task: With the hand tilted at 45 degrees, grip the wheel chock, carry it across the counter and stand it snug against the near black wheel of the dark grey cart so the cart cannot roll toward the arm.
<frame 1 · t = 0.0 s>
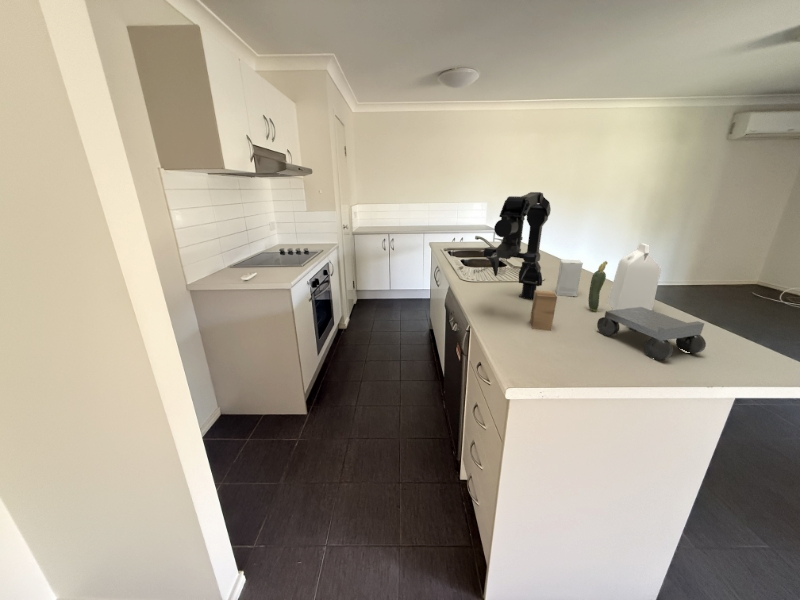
hand: (507, 277, 114), 15 cm above the countertop, tool pointing down, fingers open, 9 cm apart
milk: (627, 309, 126), on the countertop
trolley: (648, 328, 96), point 5 cm above the countertop, slide at 0.0 cm
chock: (540, 326, 110), on the countertop
skincare box: (565, 294, 144), on the countertop
vegetable: (591, 311, 124), on the countertop
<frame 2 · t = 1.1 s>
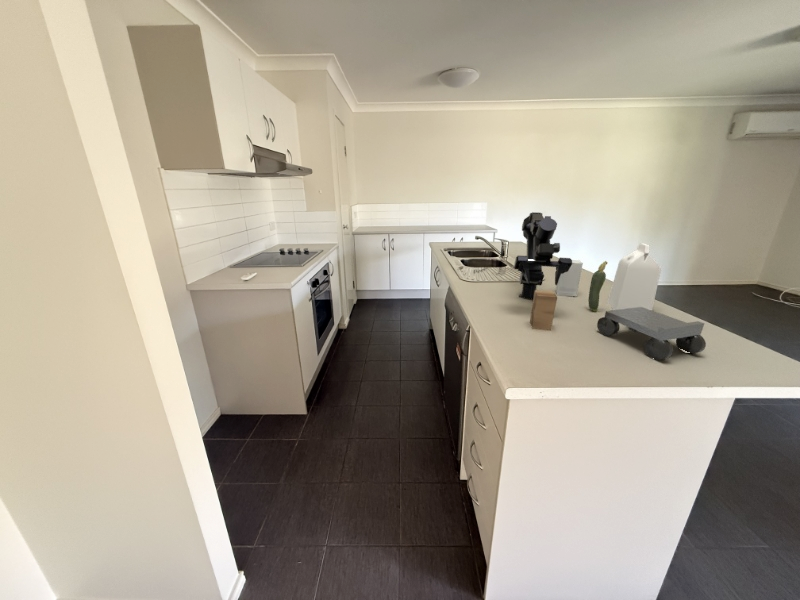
hand: (542, 283, 112), 13 cm above the countertop, tool tilted 45°, fingers open, 9 cm apart
nothing on the countertop moved.
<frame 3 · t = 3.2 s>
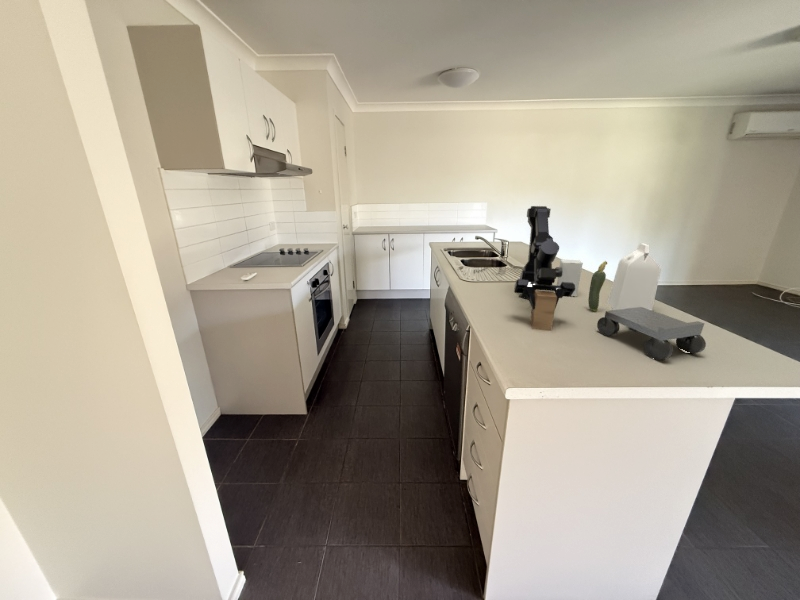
hand: (543, 309, 106), 7 cm above the countertop, tool tilted 45°, fingers closed on chock, 6 cm apart
chock: (540, 326, 110), on the countertop, touching gripper
everything else where it was.
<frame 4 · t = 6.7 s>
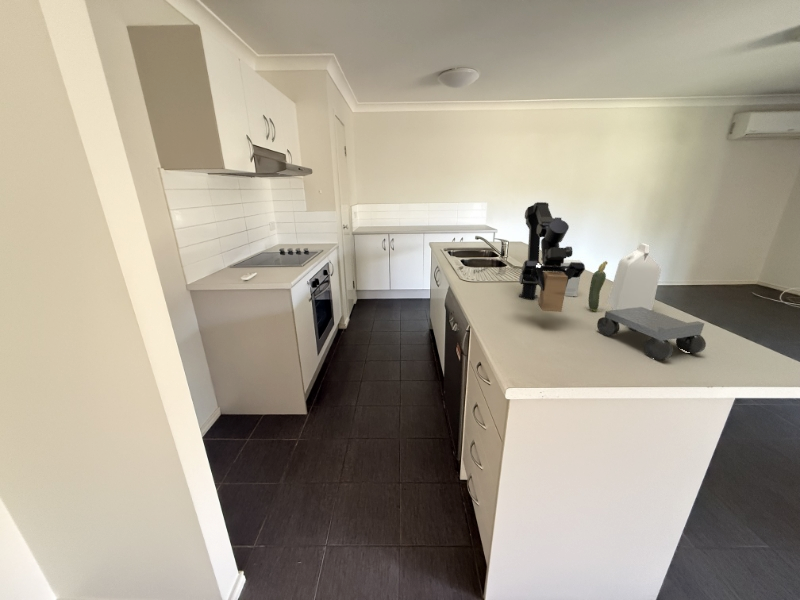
hand: (553, 290, 103), 14 cm above the countertop, tool tilted 45°, fingers closed on chock, 6 cm apart
chock: (549, 308, 107), point 7 cm above the countertop, touching gripper
everything else where it was.
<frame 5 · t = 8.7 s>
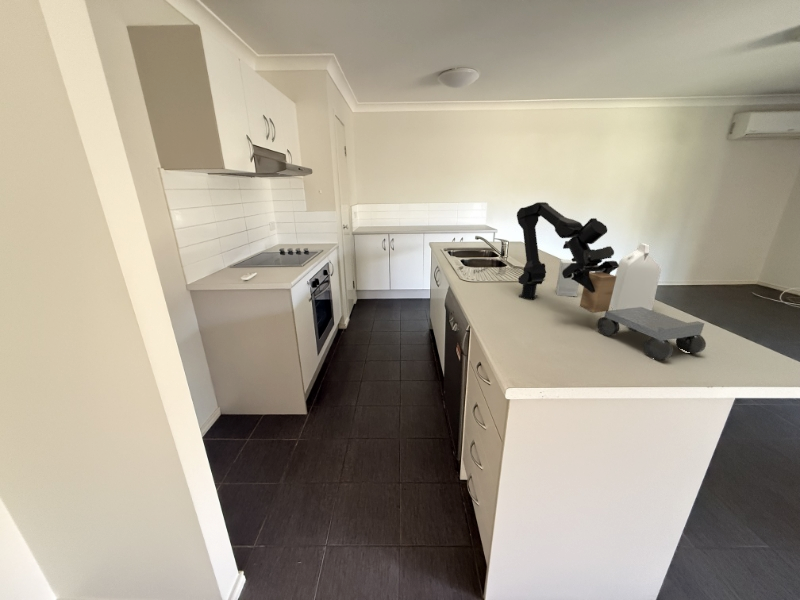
hand: (601, 291, 104), 13 cm above the countertop, tool tilted 45°, fingers closed on chock, 6 cm apart
chock: (593, 308, 107), point 7 cm above the countertop, touching gripper
everything else where it was.
when the fingers open (8 cm above the countertop, at t = 10.3 s): chock drops 1 cm, on the countertop.
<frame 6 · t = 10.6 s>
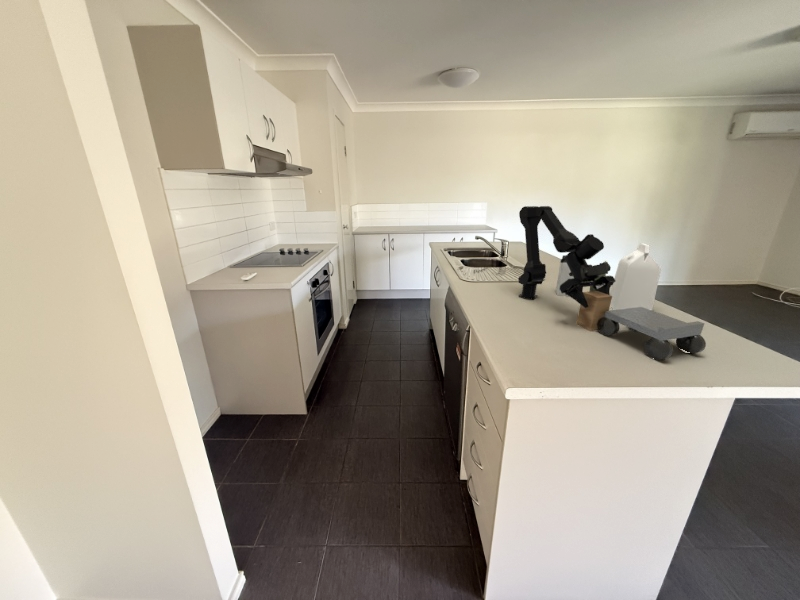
hand: (598, 306, 106), 8 cm above the countertop, tool tilted 45°, fingers open, 9 cm apart
chock: (590, 326, 109), on the countertop
everything else where it was.
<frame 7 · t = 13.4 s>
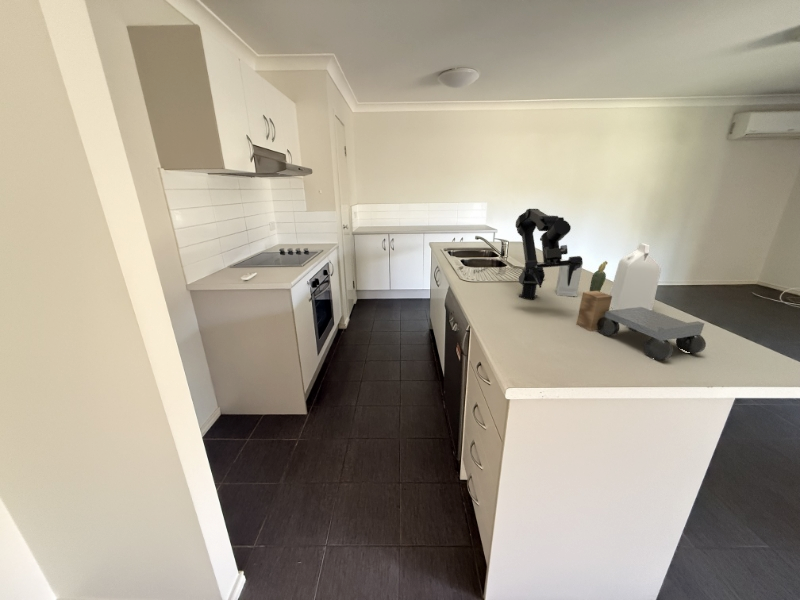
hand: (554, 286, 114), 12 cm above the countertop, tool tilted 35°, fingers open, 9 cm apart
nothing on the countertop moved.
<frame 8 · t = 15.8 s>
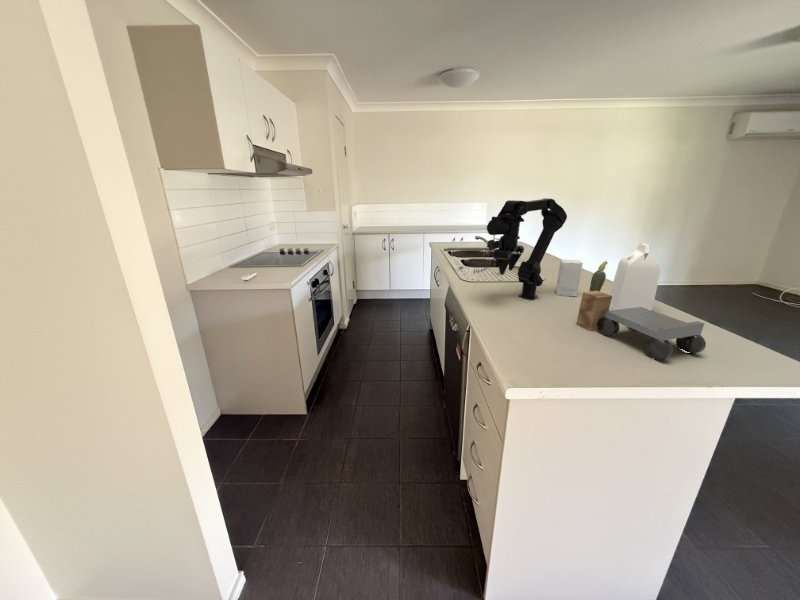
hand: (506, 272, 129), 13 cm above the countertop, tool pointing down, fingers open, 9 cm apart
nothing on the countertop moved.
at the end: chock 0.3 cm from the target spot, on the countertop; chock tilted 0°; trolley slide at 0.0 cm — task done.
